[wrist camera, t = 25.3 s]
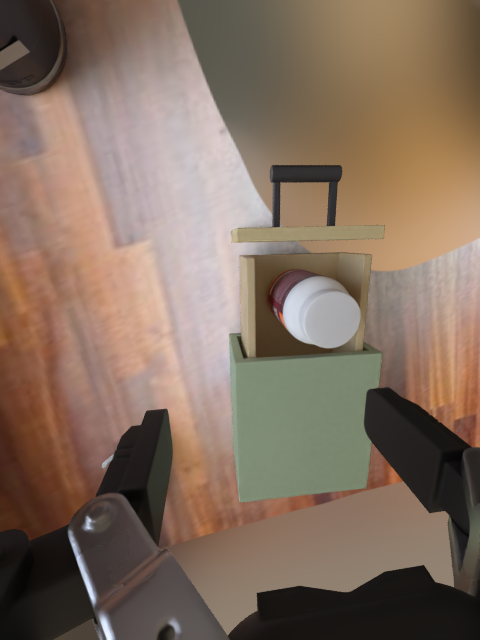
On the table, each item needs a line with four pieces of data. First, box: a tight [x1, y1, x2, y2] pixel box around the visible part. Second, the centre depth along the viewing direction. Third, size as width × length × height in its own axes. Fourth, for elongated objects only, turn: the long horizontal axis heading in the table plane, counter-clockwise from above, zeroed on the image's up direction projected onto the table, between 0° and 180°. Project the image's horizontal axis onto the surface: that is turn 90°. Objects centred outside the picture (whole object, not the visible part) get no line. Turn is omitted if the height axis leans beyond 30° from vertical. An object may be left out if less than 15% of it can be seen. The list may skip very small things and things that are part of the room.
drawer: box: [231, 165, 385, 359], centre depth 30 cm, size 21×14×7 cm, turn 2°
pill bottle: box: [267, 269, 361, 348], centre depth 27 cm, size 6×6×11 cm
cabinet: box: [229, 334, 382, 502], centre depth 34 cm, size 17×15×9 cm
